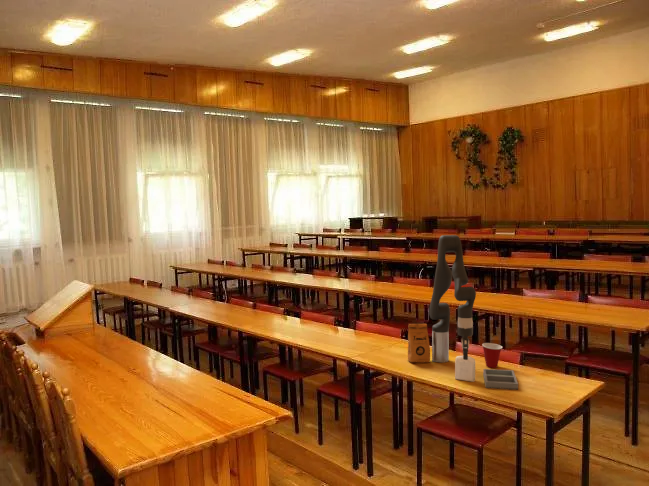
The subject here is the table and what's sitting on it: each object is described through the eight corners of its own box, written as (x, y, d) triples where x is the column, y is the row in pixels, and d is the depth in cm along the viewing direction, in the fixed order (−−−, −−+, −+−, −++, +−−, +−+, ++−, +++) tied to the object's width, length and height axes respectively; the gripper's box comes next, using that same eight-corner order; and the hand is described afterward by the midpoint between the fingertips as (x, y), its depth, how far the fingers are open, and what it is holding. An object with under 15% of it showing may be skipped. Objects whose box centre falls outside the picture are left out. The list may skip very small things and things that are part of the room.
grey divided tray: (485, 387, 267) (485, 382, 267) (483, 374, 288) (483, 368, 287) (518, 389, 264) (518, 383, 264) (513, 376, 284) (513, 370, 284)
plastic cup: (503, 370, 295) (503, 348, 294) (482, 369, 297) (482, 347, 296) (501, 364, 305) (501, 342, 304) (481, 363, 307) (481, 342, 306)
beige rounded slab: (476, 379, 279) (476, 356, 278) (474, 382, 276) (474, 358, 275) (456, 377, 284) (456, 353, 284) (454, 379, 281) (453, 355, 280)
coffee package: (431, 364, 308) (430, 325, 306) (408, 364, 308) (408, 325, 307) (428, 358, 318) (428, 321, 316) (407, 359, 318) (406, 321, 316)
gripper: (457, 322, 286) (457, 353, 287) (457, 328, 272) (457, 360, 273) (472, 323, 284) (472, 353, 285) (473, 329, 270) (473, 361, 271)
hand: (465, 357), depth 279 cm, fingers open, 8 cm apart
